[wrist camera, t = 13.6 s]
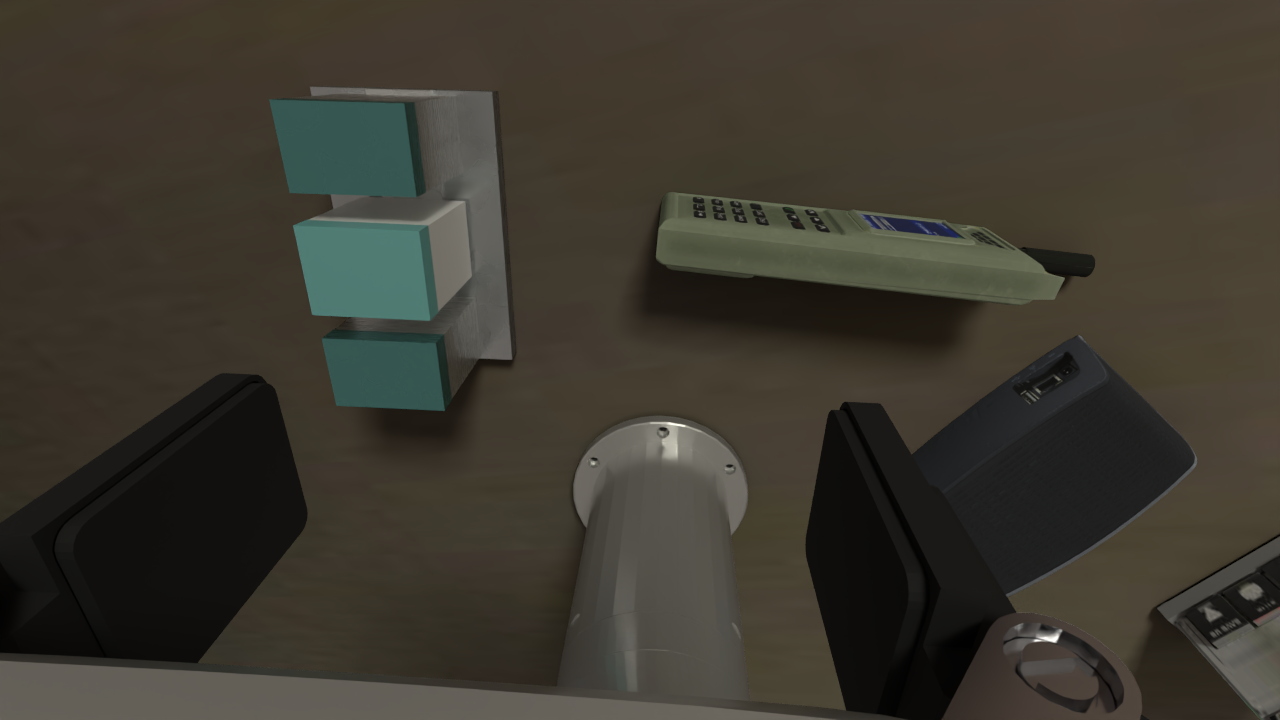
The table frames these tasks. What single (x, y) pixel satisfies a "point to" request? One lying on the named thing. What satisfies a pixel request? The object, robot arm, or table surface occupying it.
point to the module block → (385, 257)
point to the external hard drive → (1053, 464)
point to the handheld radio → (856, 250)
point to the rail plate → (411, 169)
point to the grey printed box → (1238, 626)
